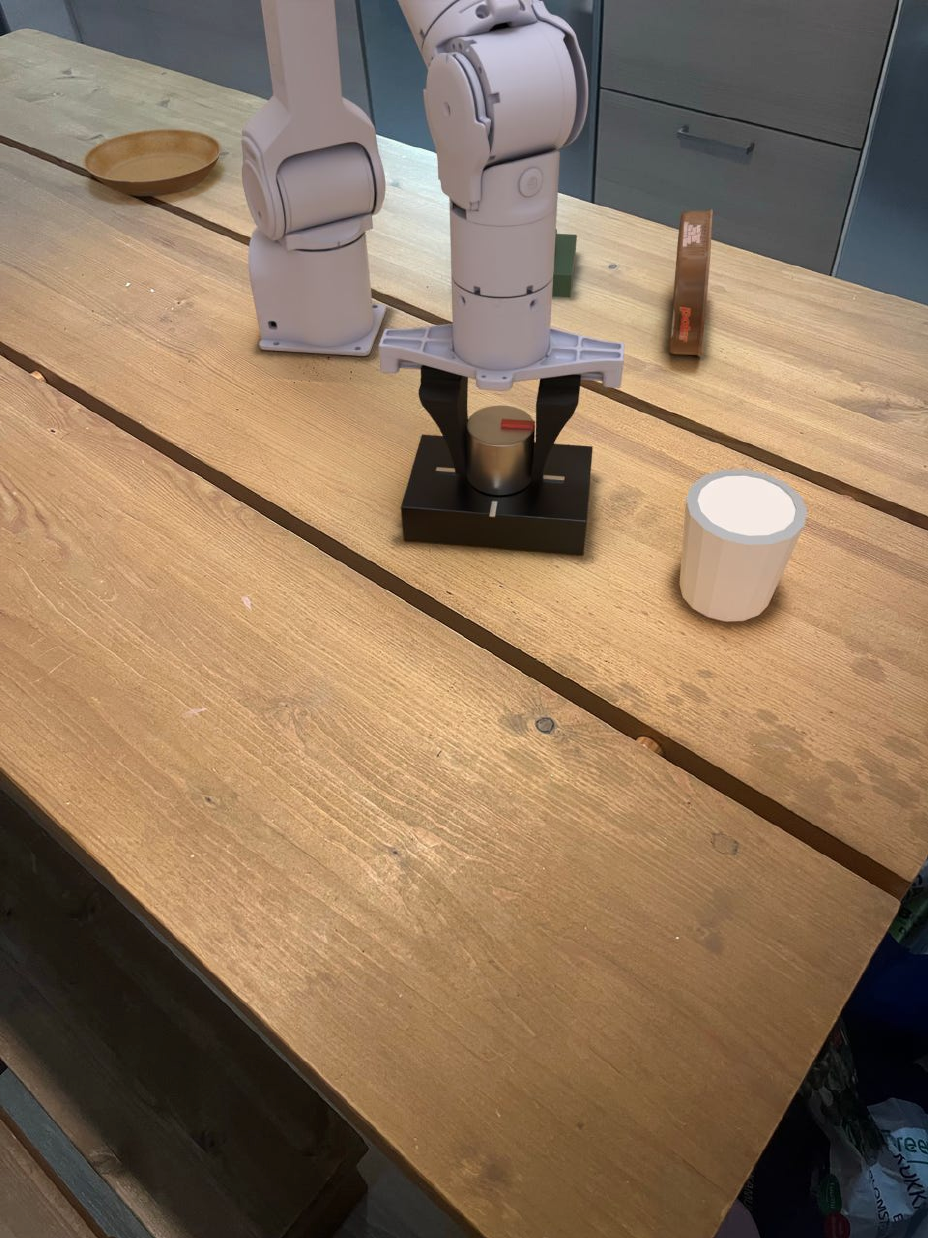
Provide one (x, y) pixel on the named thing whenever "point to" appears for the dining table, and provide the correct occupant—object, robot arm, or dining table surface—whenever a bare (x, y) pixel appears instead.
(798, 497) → the white cylinder
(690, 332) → the brown rectangular box
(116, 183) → the plant saucer
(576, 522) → the panel
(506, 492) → the knob
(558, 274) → the button box
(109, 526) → the dining table surface
